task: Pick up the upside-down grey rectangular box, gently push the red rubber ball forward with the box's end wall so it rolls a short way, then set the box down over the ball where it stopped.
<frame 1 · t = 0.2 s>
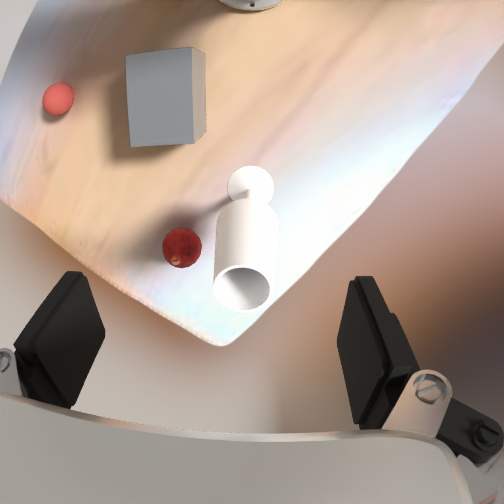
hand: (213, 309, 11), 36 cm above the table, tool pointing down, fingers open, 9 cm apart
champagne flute: (250, 187, 46), on the table
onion: (187, 235, 50), on the table
ball: (58, 98, 36), on the table
grey rectangular box: (177, 93, 39), on the table
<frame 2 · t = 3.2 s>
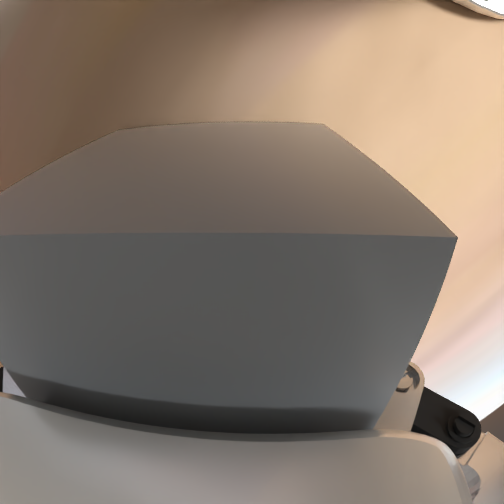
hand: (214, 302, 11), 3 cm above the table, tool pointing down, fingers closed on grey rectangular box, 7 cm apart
grey rectangular box: (222, 256, 14), on the table, touching gripper
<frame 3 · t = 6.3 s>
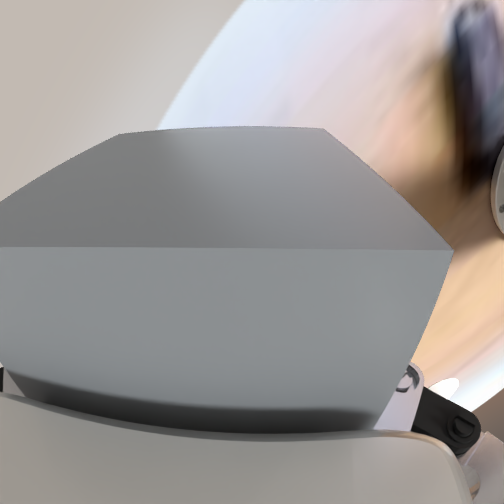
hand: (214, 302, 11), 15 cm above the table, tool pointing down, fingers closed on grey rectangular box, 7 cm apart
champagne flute: (439, 391, 38), on the table
grey rectangular box: (222, 259, 14), point 12 cm above the table, touching gripper
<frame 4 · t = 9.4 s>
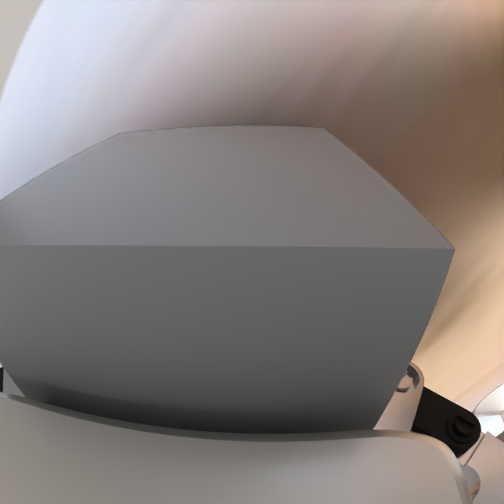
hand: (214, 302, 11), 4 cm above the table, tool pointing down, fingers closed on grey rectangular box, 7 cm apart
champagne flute: (497, 397, 24), on the table
grey rectangular box: (222, 259, 14), point 1 cm above the table, touching gripper
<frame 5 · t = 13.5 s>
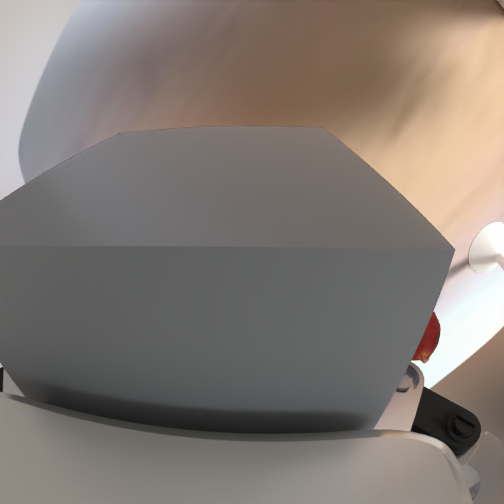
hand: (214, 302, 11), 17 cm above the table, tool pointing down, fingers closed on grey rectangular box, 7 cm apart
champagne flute: (489, 247, 29), on the table
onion: (402, 308, 33), on the table
grey rectangular box: (222, 259, 14), point 14 cm above the table, touching gripper
when the fingers open (3 cm above the table, at t = 17.4 s): grey rectangular box stays where it is, on the table.
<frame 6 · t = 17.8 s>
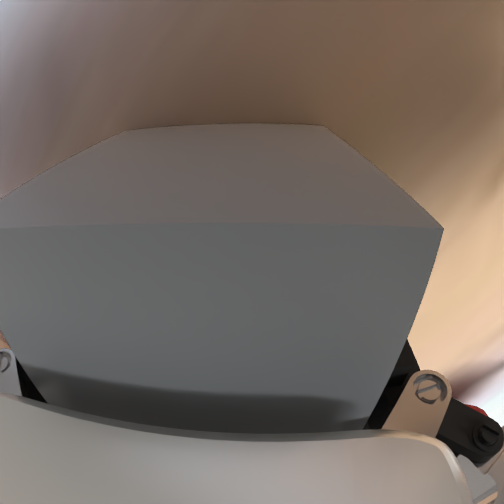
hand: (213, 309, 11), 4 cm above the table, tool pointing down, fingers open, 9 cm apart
grey rectangular box: (225, 253, 14), on the table
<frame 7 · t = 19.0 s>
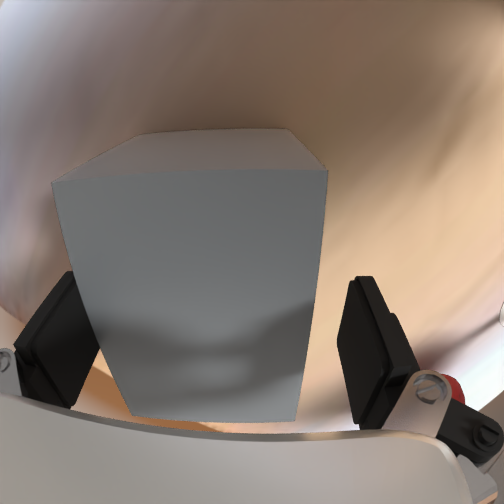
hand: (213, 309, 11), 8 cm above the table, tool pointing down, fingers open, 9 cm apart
grey rectangular box: (216, 228, 18), on the table, touching gripper
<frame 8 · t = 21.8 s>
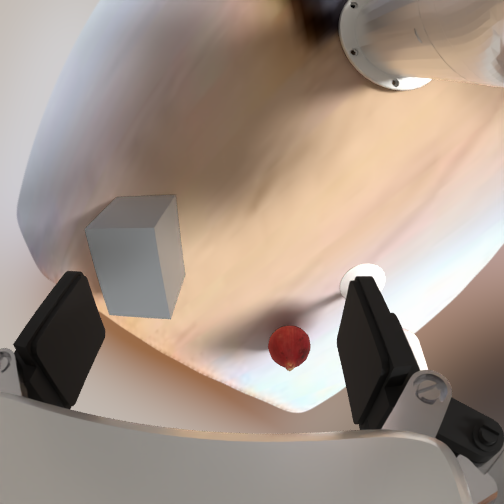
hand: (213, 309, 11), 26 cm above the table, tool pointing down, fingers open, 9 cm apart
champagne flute: (362, 283, 42), on the table
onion: (287, 327, 47), on the table
grey rectangular box: (151, 237, 39), on the table
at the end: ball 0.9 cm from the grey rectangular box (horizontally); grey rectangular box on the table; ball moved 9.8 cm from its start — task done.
